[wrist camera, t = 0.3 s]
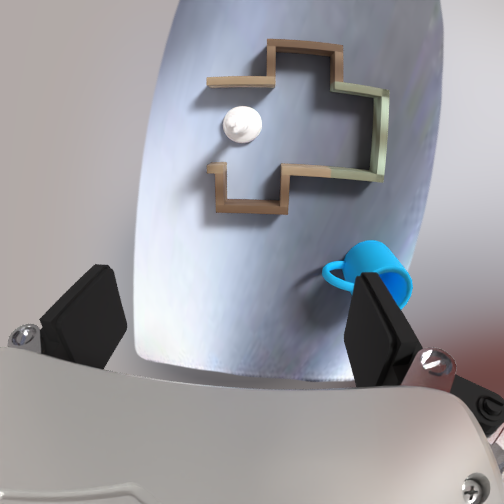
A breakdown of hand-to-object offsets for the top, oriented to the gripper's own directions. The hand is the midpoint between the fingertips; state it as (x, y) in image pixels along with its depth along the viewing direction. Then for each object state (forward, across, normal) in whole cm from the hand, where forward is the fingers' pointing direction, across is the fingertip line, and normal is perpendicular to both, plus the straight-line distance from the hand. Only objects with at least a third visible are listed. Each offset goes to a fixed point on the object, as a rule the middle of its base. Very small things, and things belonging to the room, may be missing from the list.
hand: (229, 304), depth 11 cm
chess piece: (+29, +2, -7) cm, 30 cm away
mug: (+30, -15, +12) cm, 35 cm away
